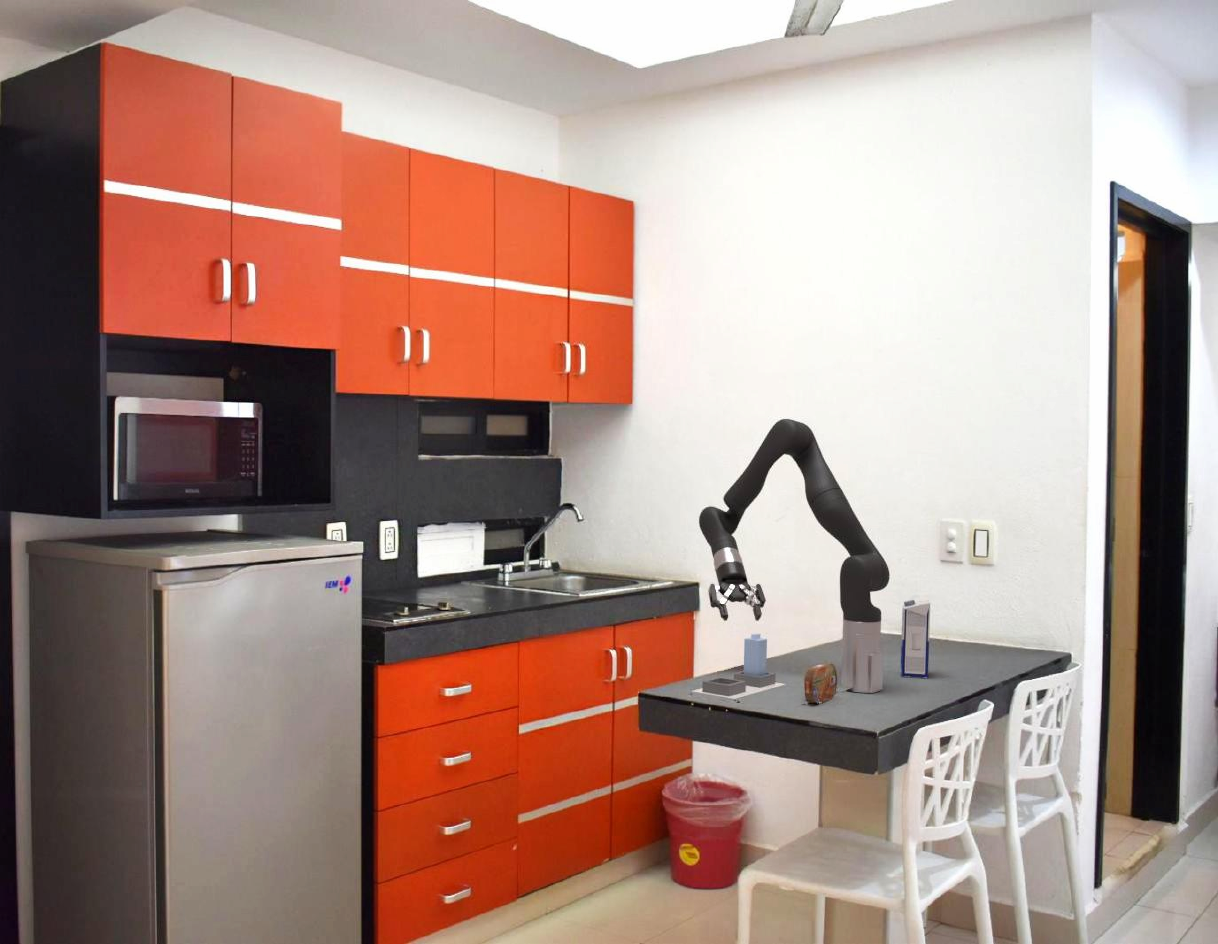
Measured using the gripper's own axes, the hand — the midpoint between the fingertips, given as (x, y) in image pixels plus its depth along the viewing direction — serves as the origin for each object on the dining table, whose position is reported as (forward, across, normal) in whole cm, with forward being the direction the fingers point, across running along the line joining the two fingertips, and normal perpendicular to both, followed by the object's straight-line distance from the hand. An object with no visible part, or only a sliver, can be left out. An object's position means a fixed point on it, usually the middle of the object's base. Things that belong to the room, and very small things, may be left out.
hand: (742, 618), depth 305 cm
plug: (+18, 0, +3) cm, 18 cm away
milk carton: (+10, +49, +12) cm, 51 cm away
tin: (+30, +11, -8) cm, 33 cm away
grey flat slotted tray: (+22, -5, 0) cm, 22 cm away
